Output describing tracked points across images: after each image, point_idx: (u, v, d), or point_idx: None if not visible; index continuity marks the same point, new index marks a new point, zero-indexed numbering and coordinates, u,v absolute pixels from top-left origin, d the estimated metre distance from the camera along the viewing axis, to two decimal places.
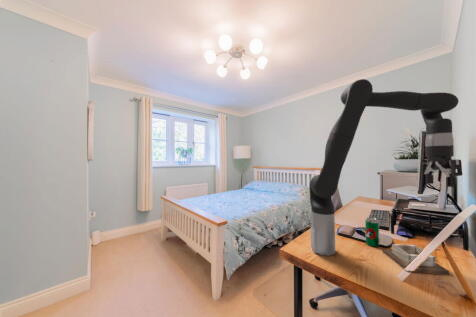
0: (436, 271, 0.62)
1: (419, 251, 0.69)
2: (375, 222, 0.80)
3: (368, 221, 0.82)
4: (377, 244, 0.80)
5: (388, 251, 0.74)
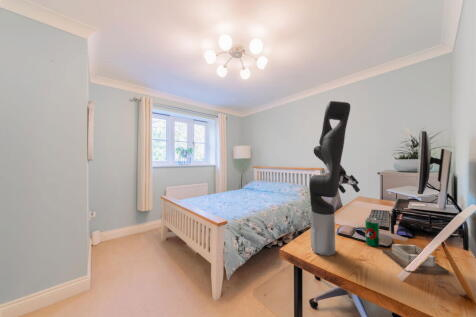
0: (436, 271, 0.62)
1: (419, 251, 0.69)
2: (375, 222, 0.80)
3: (368, 221, 0.82)
4: (377, 244, 0.80)
5: (388, 251, 0.74)
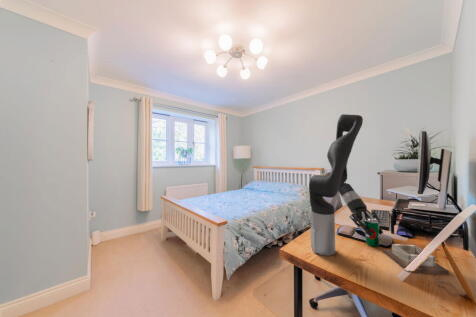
0: (436, 271, 0.62)
1: (419, 251, 0.69)
2: (375, 222, 0.80)
3: (368, 221, 0.82)
4: (377, 244, 0.80)
5: (388, 251, 0.74)
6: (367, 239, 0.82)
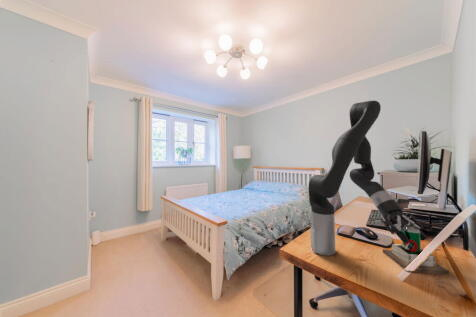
0: (436, 271, 0.62)
1: None
2: (416, 232, 0.66)
3: (407, 230, 0.68)
4: None
5: (388, 251, 0.74)
6: None
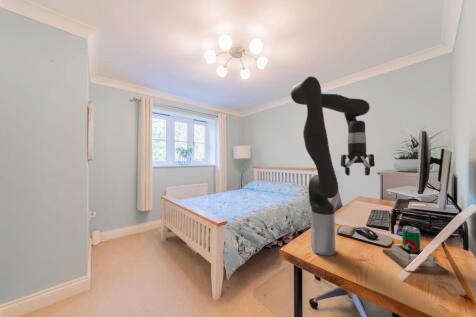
0: (436, 271, 0.62)
1: None
2: (416, 232, 0.66)
3: (407, 230, 0.68)
4: None
5: (388, 251, 0.74)
6: None
